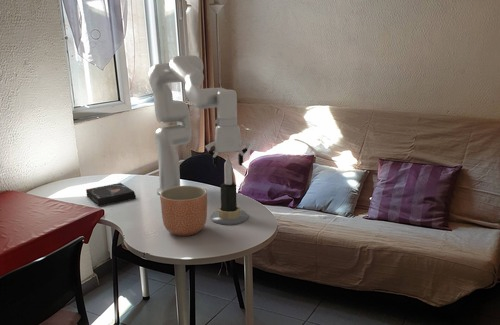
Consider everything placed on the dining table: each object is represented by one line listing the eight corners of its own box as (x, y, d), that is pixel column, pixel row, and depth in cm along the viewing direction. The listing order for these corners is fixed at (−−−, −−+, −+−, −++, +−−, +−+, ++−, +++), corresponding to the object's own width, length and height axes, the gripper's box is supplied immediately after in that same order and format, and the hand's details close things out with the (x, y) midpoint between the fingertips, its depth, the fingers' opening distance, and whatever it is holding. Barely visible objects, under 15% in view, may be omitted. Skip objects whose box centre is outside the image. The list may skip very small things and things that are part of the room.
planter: (168, 243, 157) (166, 203, 153) (158, 226, 172) (155, 189, 168) (214, 235, 163) (213, 196, 159) (200, 219, 178) (199, 183, 174)
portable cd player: (136, 199, 203) (135, 191, 202) (98, 207, 194) (98, 198, 193) (122, 190, 216) (121, 182, 215) (87, 197, 206) (86, 189, 205)
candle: (229, 211, 183) (228, 152, 176) (237, 215, 180) (237, 155, 173) (220, 215, 180) (218, 155, 173) (228, 218, 176) (227, 157, 169)
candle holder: (208, 212, 185) (207, 203, 184) (243, 209, 188) (243, 200, 187) (213, 226, 171) (213, 216, 170) (251, 222, 174) (251, 213, 173)
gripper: (206, 125, 164) (207, 169, 169) (251, 123, 168) (251, 166, 173) (203, 121, 171) (204, 164, 176) (247, 119, 175) (247, 161, 180)
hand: (228, 165), depth 174 cm, fingers open, 9 cm apart
